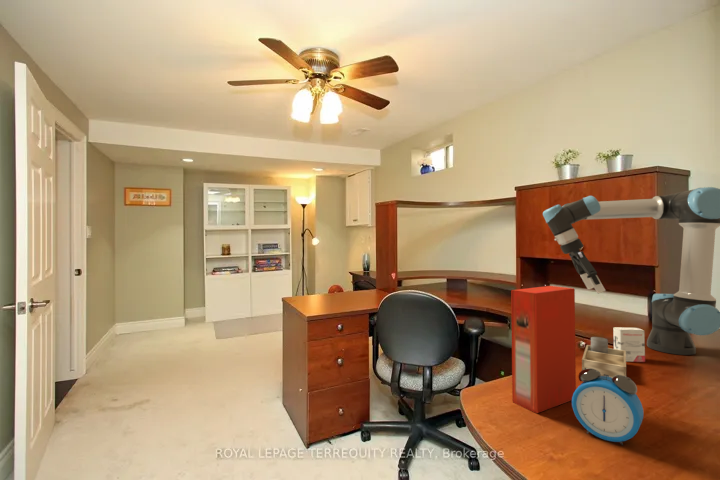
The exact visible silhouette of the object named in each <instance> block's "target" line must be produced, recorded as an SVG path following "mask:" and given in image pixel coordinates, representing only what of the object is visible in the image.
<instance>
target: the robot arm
mask: <svg viewBox="0 0 720 480" xmlns="http://www.w3.org/2000/svg"><path fill="white" fill-rule="evenodd" d="M542 216H543V218H544V220H545V224H547V226H548V228H549V229H550V231H551V233H552V234H553V236H554V239H553V240H554V241H555V242H557V243H558V245H560V249H561V251H562V253H563V254H564V255H566V254H567V255H568V256H569V258H570V259H571V261H572V263H573V266H574V268H575V271H576V273H578V275H580V278H581V279H582V282H583V283H584V285H585V287H586V289H587V290H592V289H594V290H595V291H596V293H597V294H600V293H605V292H606V291H607V290H606V289H605V287H604V285H603V284H602V282H601V280H600V278H599V276H598V275H597V274H598V271H596V269H595V267H594V266H593V265H592V263H591V262H590V260H589V259H588V258H587V256H586V255H585V253H584V251H583V250H582V251H581V250H580V249H582V248H584V244H583V242H582V241H581V239H580V238H579V235H578V233H577V231H576V230H575V228H574V227H573V225H572V224H575V223H576V222H577V223H578V222H580V221H582V220H605V219H606V220H608V219H631V218H632V219H633V218H635V219H636V218H652V219H655V220H674V221H675V220H676V221H678V225H679V226H680V227H682V228H683V232H682V233H683V234H682V244H681V248H682V249H681V258H680V259H681V262H680V273H679V287H678V288H679V289H678V291H676V292H675V293H654V294H653V295H652V299H651V317H652V318H651V322H652V325H651V326H652V329H651V330H650V333H649V335H648V337H647V339H646V346H647V347H648V348H650V349H652V350H655V351H657V352H661V353H666V354H671V355H679V356H682V355H683V356H693V355H696V353H697V349H696V345H695V343H694V340H693V338H692V336H691V334H692V335H695V336H708V335H712V334H713V333H715V332H717V331H719V330H720V310H719V309H718V308H717V307H716V306H717V298H715V297H714V295H712V281H713V280H712V279H713V269H714V268H713V267H714V256H715V254H714V253H715V239H716V229H718V228H719V227H720V188H719V187H712V186H707V187H706V186H704V187H697V188H694V189H691V190H684V191H680V192H679V191H678V192H675V193H670V194H666V195H655V196H653V197H652V198H642V199H627V200H625V199H621V200H608V201H607V200H603V201H599V200H598V199H597V197H595V196H593V195H588V196H586V197H582V198H581V199H578V200H576V201H572V202H569V203H568V202H567V203H565V204H564V205H561V204H555V205H553V206H552V207H549V208H547V209H545V210H544V211H543V212H542Z"/></svg>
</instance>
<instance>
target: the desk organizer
mask: <svg viewBox="0 0 720 480" xmlns="http://www.w3.org/2000/svg"><path fill="white" fill-rule="evenodd" d="M585 368H586V369H587V368H593V369H596V370H598V371H599V372H600V374H601V376H604V374H606V375H609V377H611V378H613V377H614V376H615V375H623V376H626V377H627V362H626V351H624V350H618V349H614V348H612V347H611V348H610V347H609V340H608V338H604V337H601V336H591V337H590V344H586V346H585V349H584V352H583V355H582V358H581V371H582V370H584V369H585ZM607 377H608V376H607Z"/></svg>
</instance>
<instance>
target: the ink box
mask: <svg viewBox="0 0 720 480" xmlns="http://www.w3.org/2000/svg"><path fill="white" fill-rule="evenodd" d="M612 328H613V330H612V331H613V333H612V334H613V349H618V350H624V351H626V363H627V362H633V363H634V362H636V363H645V362H646V348H645V347H646V345H645V344H646V343H645V337H646V336H645V330H643V329H641V328H639V327H623V326H622V327H621V326H620V327H617V326H616V327H612Z"/></svg>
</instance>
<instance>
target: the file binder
mask: <svg viewBox="0 0 720 480" xmlns="http://www.w3.org/2000/svg"><path fill="white" fill-rule="evenodd" d="M575 290H576V289H575V288H572V287H565V286H557V285H556V286H555V285H546V286H538V287H529V288H528V287H527V288H519V289H511V290H510V293H511V294H510V295H511V296H510V298H511V301H510V302H511V303H510V305H511V309H510V311H511V313H510V314H511V378H512V380H511V381H512V383H511V385H512V386H511V390H512V392H511V393H512V398H511V399H512V403H514V404H516V405H518V406H520V407H521V408H524V409H526V410H528V411H530V412H533V413H535V414H539V413H541V412H544V411H547V410H549V409H553V408H554V407H557V406H559V405H563V404H565V403H568V402H570V401H571V402H572V397H573V394H574V392H575V390H576V389H577V385H576V384H577V382H576V381H577V380H576V379H577V377H576V376H577V375H576V373H577V372H576V370H577V369H576V362H577V361H576V302H575V301H576V295H575V294H576V292H575Z"/></svg>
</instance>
